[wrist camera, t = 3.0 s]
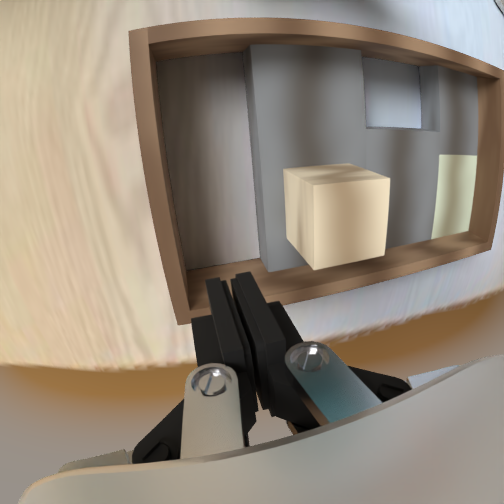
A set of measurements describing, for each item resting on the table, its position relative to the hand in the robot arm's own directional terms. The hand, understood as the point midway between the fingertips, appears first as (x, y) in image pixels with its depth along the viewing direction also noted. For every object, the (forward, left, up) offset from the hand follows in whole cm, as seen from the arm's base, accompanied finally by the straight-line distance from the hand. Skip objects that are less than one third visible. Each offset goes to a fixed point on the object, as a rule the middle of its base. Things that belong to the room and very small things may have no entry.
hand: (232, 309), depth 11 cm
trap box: (-12, -3, -13) cm, 18 cm away
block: (-8, 0, -10) cm, 13 cm away
